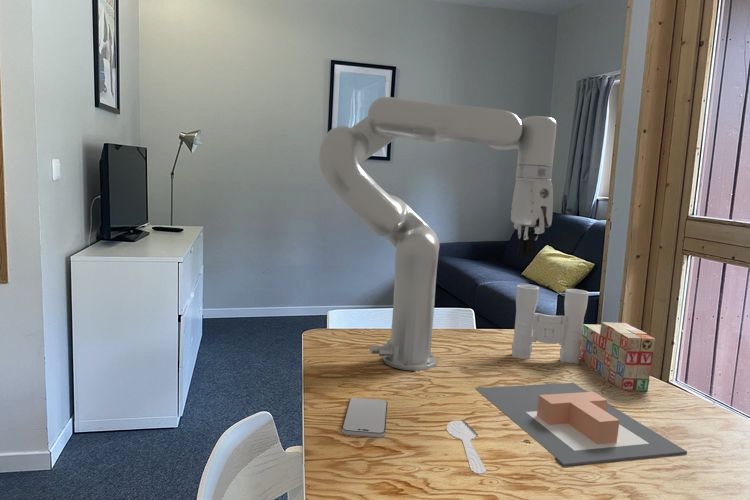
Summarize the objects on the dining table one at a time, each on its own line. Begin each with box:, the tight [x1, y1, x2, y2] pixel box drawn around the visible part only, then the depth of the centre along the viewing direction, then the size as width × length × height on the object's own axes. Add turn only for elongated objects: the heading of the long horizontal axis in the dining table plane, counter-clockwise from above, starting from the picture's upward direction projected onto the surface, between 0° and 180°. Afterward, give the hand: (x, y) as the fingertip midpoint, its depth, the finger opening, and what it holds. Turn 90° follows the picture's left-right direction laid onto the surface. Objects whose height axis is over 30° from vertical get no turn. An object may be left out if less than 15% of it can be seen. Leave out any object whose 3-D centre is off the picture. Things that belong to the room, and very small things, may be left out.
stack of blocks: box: [579, 321, 656, 392], centre depth 130 cm, size 21×6×12 cm, turn 4°
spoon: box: [446, 419, 487, 475], centre depth 91 cm, size 5×18×1 cm, turn 2°
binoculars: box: [511, 284, 590, 365], centre depth 138 cm, size 17×5×18 cm, turn 80°
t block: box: [537, 391, 620, 444], centre depth 99 cm, size 12×12×4 cm
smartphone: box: [341, 397, 388, 438], centre depth 99 cm, size 7×1×15 cm
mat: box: [474, 382, 688, 467], centre depth 104 cm, size 24×31×1 cm
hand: (525, 257), depth 123 cm, fingers closed
